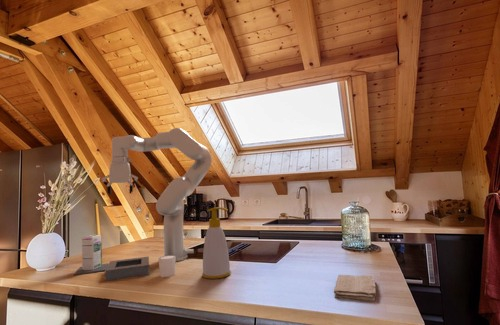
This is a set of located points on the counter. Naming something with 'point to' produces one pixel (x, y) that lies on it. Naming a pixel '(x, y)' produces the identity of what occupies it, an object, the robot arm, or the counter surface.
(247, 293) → the counter surface
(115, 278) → the socket block
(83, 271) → the rubber mat
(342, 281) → the washcloth
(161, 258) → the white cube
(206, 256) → the soap bottle
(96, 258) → the syrup box
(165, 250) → the robot arm
